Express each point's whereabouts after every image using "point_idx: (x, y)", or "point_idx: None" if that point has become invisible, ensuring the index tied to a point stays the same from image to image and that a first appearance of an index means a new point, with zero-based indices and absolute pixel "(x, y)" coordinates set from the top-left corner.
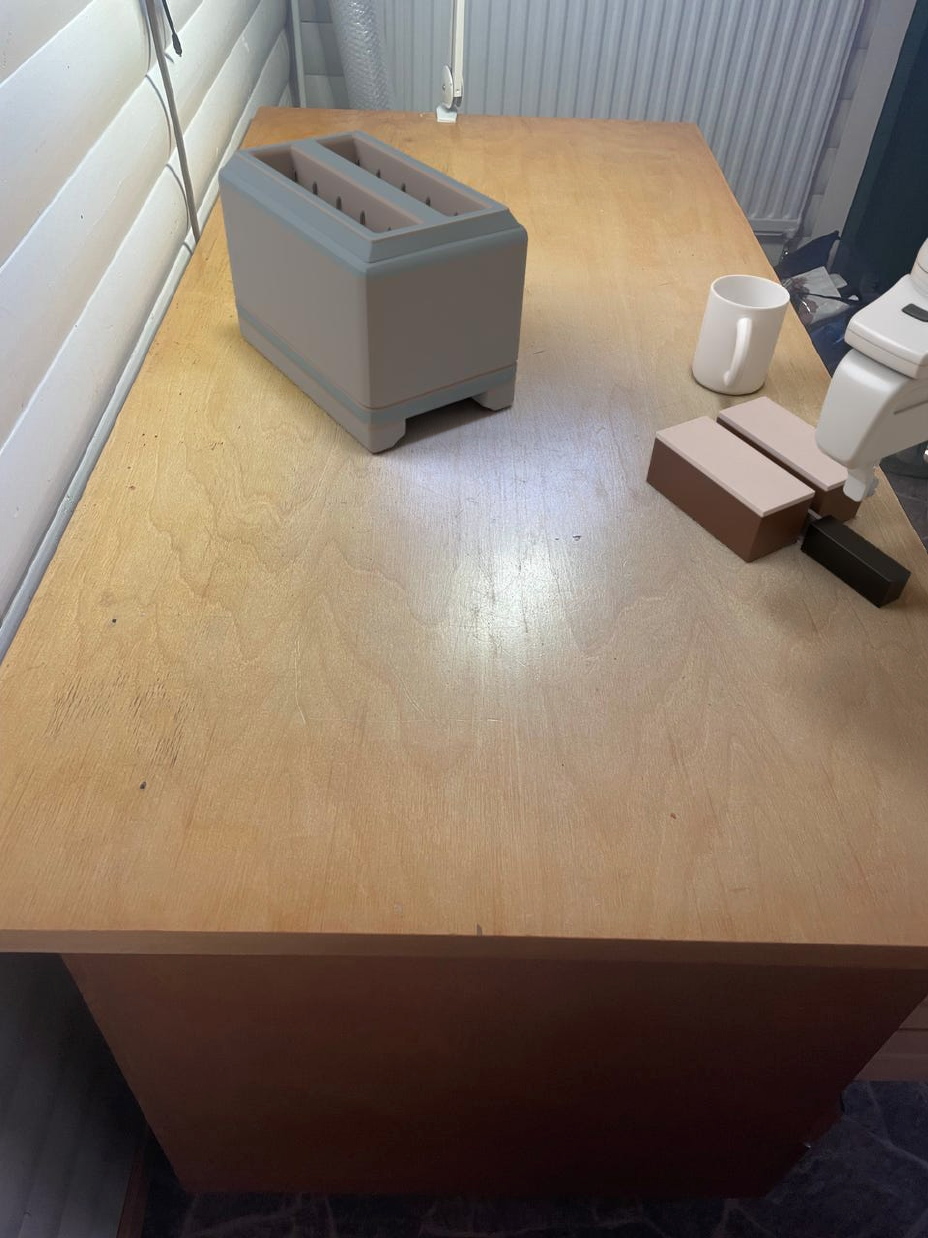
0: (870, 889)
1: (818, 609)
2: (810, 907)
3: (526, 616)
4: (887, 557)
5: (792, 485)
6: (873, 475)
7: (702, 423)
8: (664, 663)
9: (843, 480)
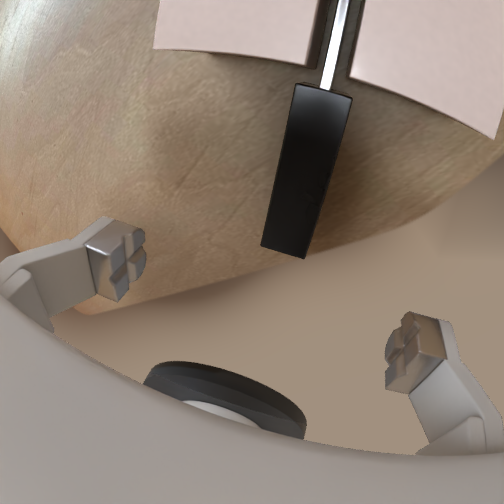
0: None
1: (209, 169)
2: None
3: (17, 34)
4: (309, 223)
5: (280, 19)
6: (115, 287)
7: None
8: (51, 125)
9: (400, 94)
